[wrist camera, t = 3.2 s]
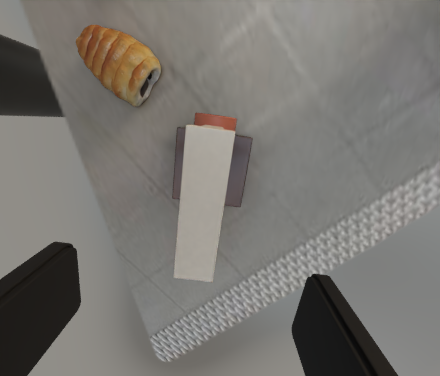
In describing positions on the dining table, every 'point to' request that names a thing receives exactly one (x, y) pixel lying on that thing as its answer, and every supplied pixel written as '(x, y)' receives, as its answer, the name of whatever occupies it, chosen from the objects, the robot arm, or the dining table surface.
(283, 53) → the dining table surface
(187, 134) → the over-ear headset
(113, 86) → the pastry
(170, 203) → the dining table surface
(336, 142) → the dining table surface
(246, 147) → the headphone stand
